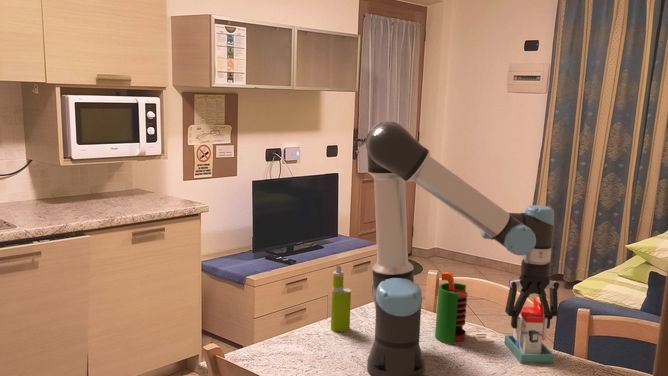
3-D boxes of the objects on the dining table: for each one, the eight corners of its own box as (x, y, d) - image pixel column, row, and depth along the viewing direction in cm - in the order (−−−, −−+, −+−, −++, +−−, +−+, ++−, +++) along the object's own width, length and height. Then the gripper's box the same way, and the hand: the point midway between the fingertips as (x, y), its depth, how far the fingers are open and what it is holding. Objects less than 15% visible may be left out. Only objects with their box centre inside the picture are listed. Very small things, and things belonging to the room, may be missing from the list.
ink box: (514, 344, 170) (517, 296, 168) (531, 345, 170) (535, 296, 168) (523, 357, 161) (527, 306, 159) (541, 357, 161) (545, 307, 159)
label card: (477, 341, 172) (477, 340, 172) (471, 333, 178) (471, 332, 178) (493, 341, 172) (493, 340, 172) (487, 333, 178) (487, 332, 178)
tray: (520, 363, 159) (521, 354, 158) (504, 343, 172) (504, 335, 171) (553, 363, 159) (554, 354, 159) (534, 343, 172) (535, 335, 172)
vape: (330, 326, 180) (331, 264, 177) (349, 326, 181) (351, 265, 178) (330, 331, 177) (332, 268, 174) (350, 331, 177) (352, 268, 174)
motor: (465, 346, 169) (469, 280, 166) (434, 342, 171) (438, 277, 167) (464, 332, 179) (468, 270, 176) (435, 329, 180) (439, 267, 177)
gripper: (505, 264, 157) (499, 344, 161) (576, 265, 158) (569, 344, 162) (496, 256, 164) (490, 333, 168) (564, 257, 165) (557, 333, 169)
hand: (529, 338), depth 165 cm, fingers open, 7 cm apart
